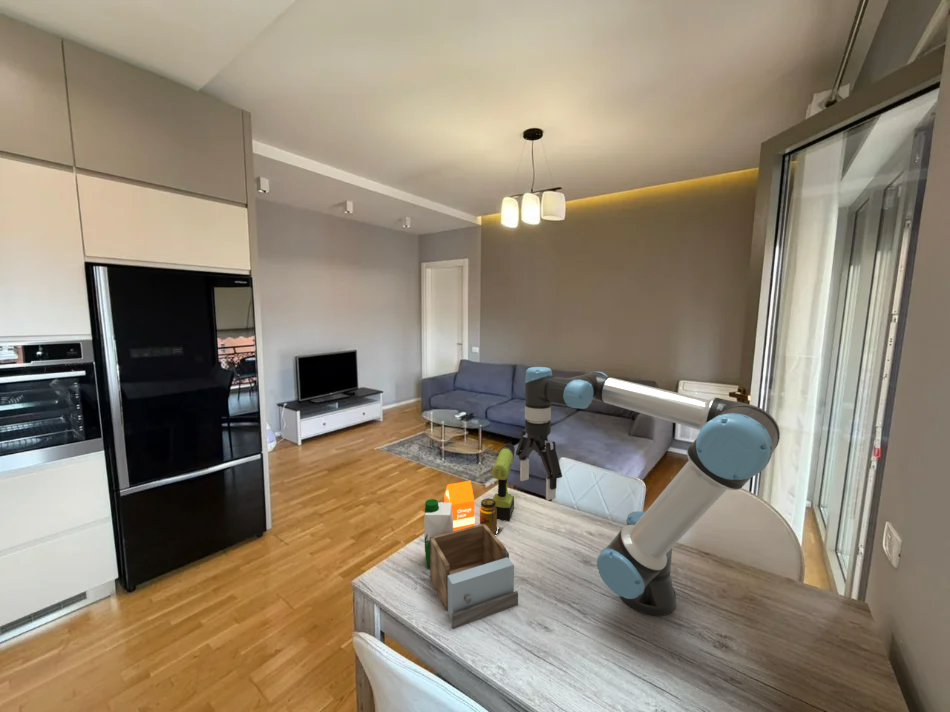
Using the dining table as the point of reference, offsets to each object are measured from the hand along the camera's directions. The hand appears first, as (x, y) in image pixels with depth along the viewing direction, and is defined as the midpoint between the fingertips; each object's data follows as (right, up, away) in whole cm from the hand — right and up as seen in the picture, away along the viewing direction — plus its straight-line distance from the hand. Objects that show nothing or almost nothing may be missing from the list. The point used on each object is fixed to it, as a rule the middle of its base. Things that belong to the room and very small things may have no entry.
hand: (536, 488), depth 115 cm
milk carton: (-30, -26, +8) cm, 40 cm away
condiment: (-13, -24, +24) cm, 36 cm away
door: (-17, -28, -11) cm, 35 cm away
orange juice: (-24, -24, +21) cm, 40 cm away
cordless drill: (-6, -22, +40) cm, 46 cm away
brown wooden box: (-19, -27, -5) cm, 34 cm away
